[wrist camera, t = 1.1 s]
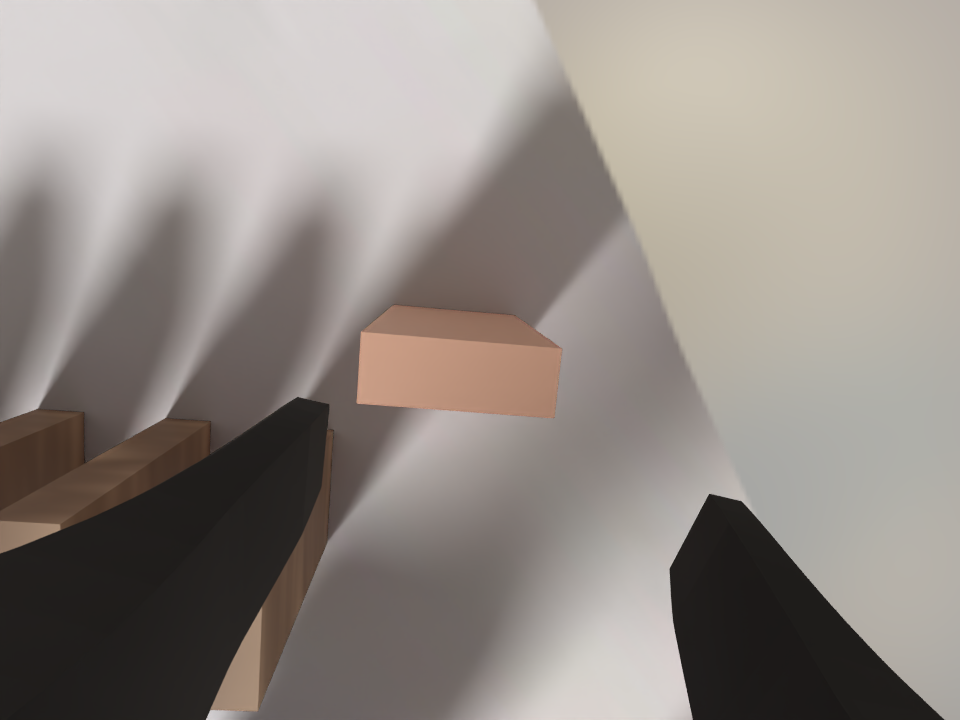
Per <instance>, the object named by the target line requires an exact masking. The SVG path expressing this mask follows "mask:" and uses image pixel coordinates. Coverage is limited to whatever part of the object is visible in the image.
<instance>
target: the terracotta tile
mask: <svg viewBox="0 0 960 720" xmlns="http://www.w3.org/2000/svg"><path fill="white" fill-rule="evenodd" d="M561 354H562V348H560V347H559V346H558V345H556V344H555V343H553V342H552V341H551V340H549V339H548V338H546V337H545V336H543V335H542V334H541V333H539V332H538V331H536V330H535V329H534V328H532V327H531V326H529V325H528V324H526V323H525V322H524V321H522V320H521V319H519V318H518V317H517V316H515V315H505V314H494V313H482V312H471V311H459V310H448V309H436V308H425V307H413V306H402V305H393V306H391V307H390V308H389V309H388V310H387V311H385V312H384V313H383V314H382V315H381V316H379V317H378V318H377V319H376V320H375V321H373V322H372V323H371V324H370V325H369V326H367V327H366V328H365V329H364V330H363V331H361V340H360V356H359V372H358V388H357V404H370V405H383V406H396V407H410V408H423V409H437V410H450V411H463V412H477V413H490V414H504V415H517V416H530V417H544V418H554V416H555V407H556V398H557V389H558V380H559V372H560V363H561Z"/></svg>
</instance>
